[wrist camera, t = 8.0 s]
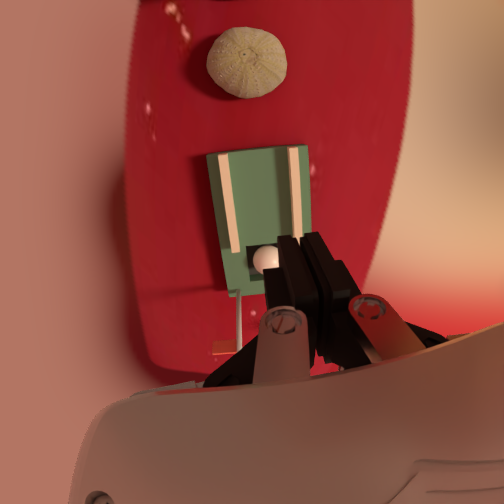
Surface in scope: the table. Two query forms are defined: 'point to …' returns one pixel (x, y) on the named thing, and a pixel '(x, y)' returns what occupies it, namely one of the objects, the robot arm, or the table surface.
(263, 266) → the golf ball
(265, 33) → the sea urchin shell
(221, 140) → the table surface
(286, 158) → the mat
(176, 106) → the table surface
